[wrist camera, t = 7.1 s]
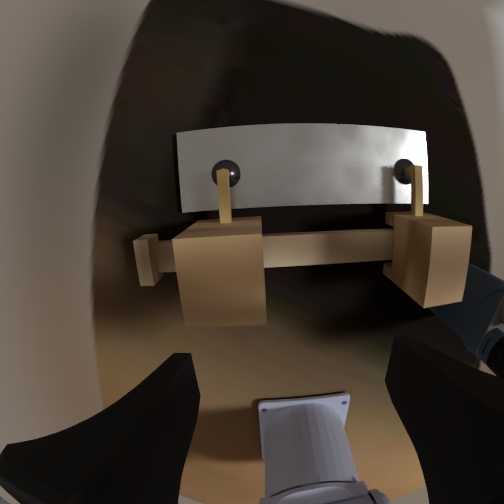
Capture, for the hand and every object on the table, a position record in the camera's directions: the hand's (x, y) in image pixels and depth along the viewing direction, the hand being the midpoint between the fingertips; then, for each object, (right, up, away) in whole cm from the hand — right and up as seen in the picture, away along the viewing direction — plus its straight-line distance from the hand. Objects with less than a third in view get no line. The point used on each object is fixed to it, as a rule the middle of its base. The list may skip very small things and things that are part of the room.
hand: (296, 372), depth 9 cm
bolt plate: (+2, +10, +8) cm, 13 cm away
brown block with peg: (-3, +6, +9) cm, 11 cm away
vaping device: (+14, +1, +10) cm, 18 cm away
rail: (+2, +4, +10) cm, 11 cm away
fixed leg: (+9, +6, +9) cm, 14 cm away
